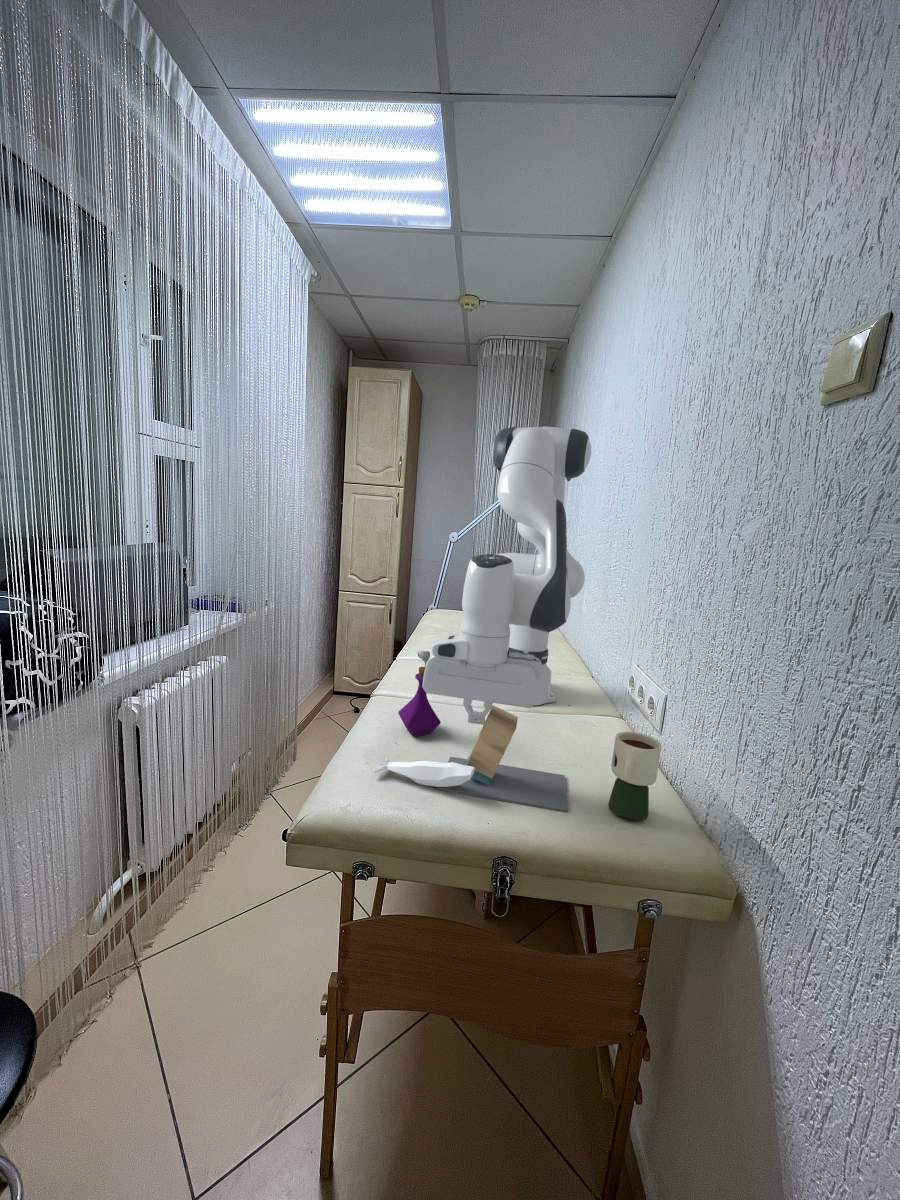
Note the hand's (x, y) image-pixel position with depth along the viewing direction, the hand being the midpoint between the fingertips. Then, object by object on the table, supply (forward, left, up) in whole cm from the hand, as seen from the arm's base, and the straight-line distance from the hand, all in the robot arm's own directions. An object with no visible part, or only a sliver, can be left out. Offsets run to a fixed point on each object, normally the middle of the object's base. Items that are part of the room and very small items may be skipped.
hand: (476, 722), depth 89 cm
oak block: (0, +1, -9) cm, 9 cm away
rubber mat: (0, +6, -11) cm, 12 cm away
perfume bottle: (-16, -14, -11) cm, 24 cm away
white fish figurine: (+5, -8, -11) cm, 14 cm away
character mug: (+3, +27, -11) cm, 29 cm away
